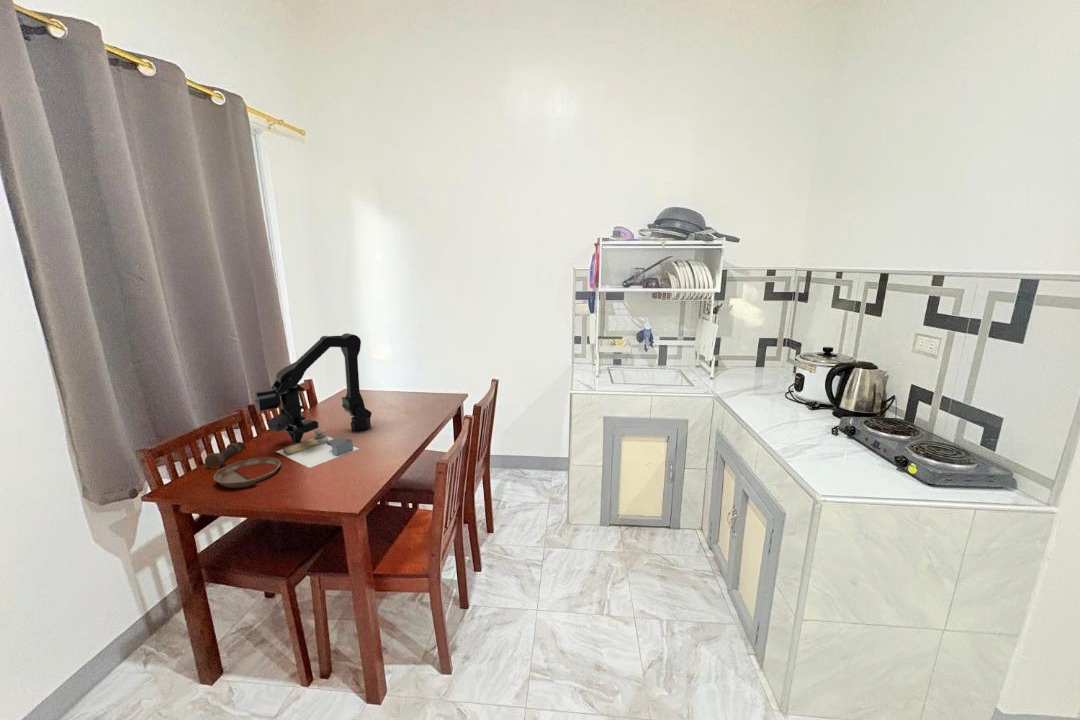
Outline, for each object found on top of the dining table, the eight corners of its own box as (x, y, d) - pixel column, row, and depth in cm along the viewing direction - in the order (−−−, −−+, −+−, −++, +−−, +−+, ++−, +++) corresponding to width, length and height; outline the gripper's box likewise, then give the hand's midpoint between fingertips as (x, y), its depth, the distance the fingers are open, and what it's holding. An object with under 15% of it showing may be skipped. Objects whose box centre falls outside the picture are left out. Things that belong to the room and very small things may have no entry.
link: (323, 439, 165) (321, 427, 164) (329, 441, 163) (327, 430, 162) (282, 452, 153) (280, 440, 152) (288, 455, 151) (286, 443, 150)
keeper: (342, 445, 159) (341, 436, 158) (353, 450, 155) (352, 440, 154) (326, 451, 154) (325, 441, 154) (337, 456, 150) (336, 446, 150)
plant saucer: (283, 460, 151) (281, 452, 150) (279, 483, 135) (278, 474, 134) (221, 472, 143) (219, 463, 142) (210, 497, 127) (208, 487, 127)
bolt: (245, 454, 160) (216, 472, 145) (232, 448, 159) (202, 466, 145) (251, 441, 159) (223, 458, 144) (238, 435, 159) (208, 451, 144)
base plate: (325, 437, 170) (325, 435, 170) (359, 451, 157) (359, 448, 156) (276, 454, 155) (276, 451, 155) (309, 470, 142) (309, 467, 142)
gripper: (252, 408, 152) (259, 449, 156) (287, 415, 145) (294, 458, 148) (282, 399, 162) (288, 438, 166) (316, 405, 154) (322, 446, 158)
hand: (297, 445), depth 159 cm, fingers closed
